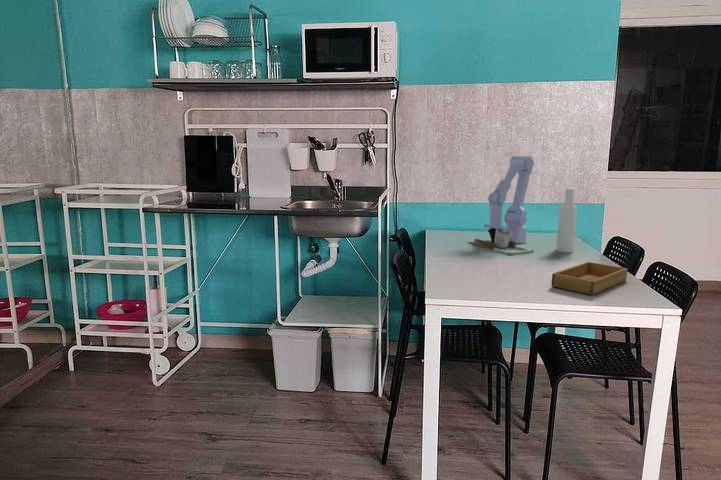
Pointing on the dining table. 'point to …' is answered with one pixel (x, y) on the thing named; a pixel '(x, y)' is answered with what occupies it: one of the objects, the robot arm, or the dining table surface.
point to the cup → (502, 238)
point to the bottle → (567, 224)
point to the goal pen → (515, 251)
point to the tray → (589, 277)
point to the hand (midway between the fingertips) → (494, 243)
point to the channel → (491, 244)
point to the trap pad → (473, 242)
